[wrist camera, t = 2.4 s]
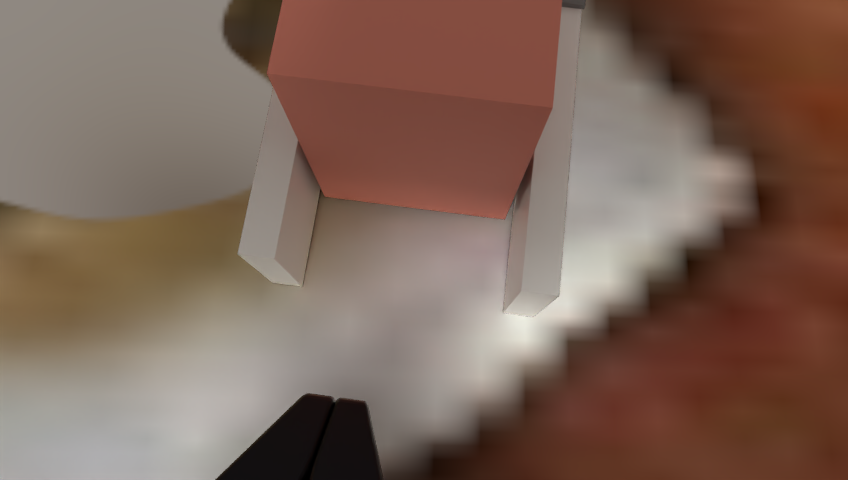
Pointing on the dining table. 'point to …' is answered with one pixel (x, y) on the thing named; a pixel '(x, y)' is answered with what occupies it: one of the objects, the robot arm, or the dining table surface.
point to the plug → (418, 96)
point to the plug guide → (532, 214)
